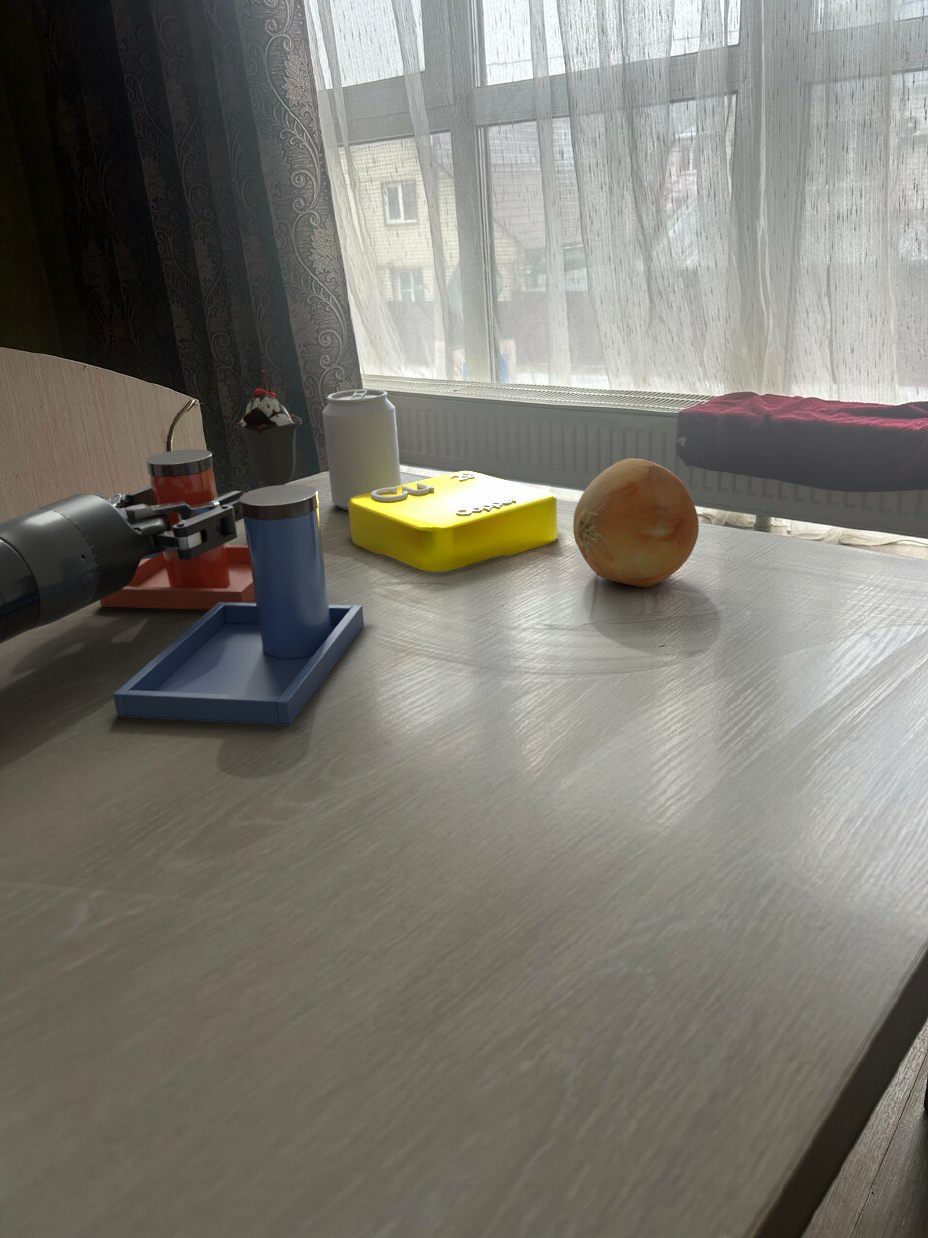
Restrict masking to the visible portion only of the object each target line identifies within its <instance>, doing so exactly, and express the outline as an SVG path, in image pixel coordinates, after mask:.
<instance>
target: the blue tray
mask: <svg viewBox="0 0 928 1238" xmlns="http://www.w3.org/2000/svg"><path fill="white" fill-rule="evenodd" d="M329 607H330V615H331V624H332V633H331V634H330V635H329V636H328V638H327V639H326V640H325V641H324V643H323V644H322V645H321V646H320V648H319V649H318V650H317V651H316V653H315V654H314V655H312V656H309V657H304V658H296V659H281V658H275V657H272V656H269V655H267V654H266V653H265V652H264V651H263V647H262V640H261V634H260V627H259V620H258V613H257V607H256V602H252V603H235V602H218V603H217V604H216V605H215V606H214V607H213V608H211V609H208V610H207V612H206V613H204V614H203V615H202V616H201V617H200V618H198V620H196V621H195V622H194V623H193V624H191V626H190V627H188V628H187V629H186V630H185V631H184V632H183V633H181V634H180V635H179V636H178V637H177V638H175V639H174V640H173V641H172V642H171V643H170V644H169V645H167V646H166V647H165V648H164V649H163V650H162V651H161V652H160V653H159V654H158V655H156V656H154V658H153V659H151V661H149V662H148V663H147V664H146V665H145V666H144V667H142V668H141V669H140V670H139V671H138V672H137V673H135V674H134V675H133V676H132V677H131V678H130V679H129V680H128V681H126V682H125V683H124V684H123V685H121V687H119V688H118V689H117V690H116V691H115V692H114V693H112V694H113V695H112V697H113V701H114V706H115V710H116V715H117V717H123V718H141V719H142V718H145V719H161V720H163V719H164V720H181V721H183V720H184V721H201V722H219V723H220V722H221V723H239V724H240V723H241V724H259V725H278V726H279V725H281V726H290V725H291V724H293V722H294V720H295V719H296V718H297V716H298V715H299V713H301V711H302V709H303V708H304V707H305V705H306V704H307V703H308V702H309V700H310V699H311V698H312V696H313V694H314V693H315V692H316V690H317V689H318V688H319V686H320V685H321V684H322V682H323V681H324V680H325V678H326V677H327V676H328V674H329V673H330V672H331V671H332V669H333V667H334V666H335V665H336V664H337V662H338V661H339V659H340V658H341V657H342V655H343V654H344V653H345V652H346V650H347V648H349V646H350V644H351V643H352V641H353V640H354V639H355V638H356V636H357V635H358V634H359V632H360V631H361V630H362V628H363V627H364V625H365V621H364V611H363V605H355V604H354V605H353V604H352V605H351V604H329Z"/></svg>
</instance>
